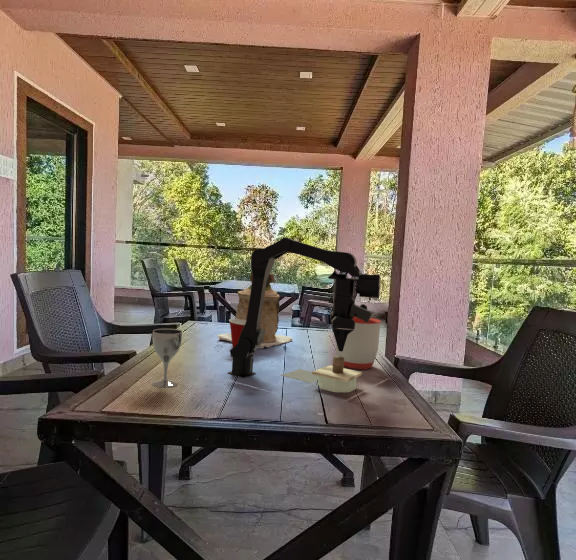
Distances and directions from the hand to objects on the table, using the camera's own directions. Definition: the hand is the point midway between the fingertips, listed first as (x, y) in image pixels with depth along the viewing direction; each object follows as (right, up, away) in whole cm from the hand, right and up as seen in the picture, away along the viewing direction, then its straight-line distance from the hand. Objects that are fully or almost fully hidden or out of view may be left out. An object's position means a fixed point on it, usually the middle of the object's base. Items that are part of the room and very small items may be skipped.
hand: (340, 347), depth 136 cm
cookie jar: (-29, -6, +62) cm, 69 cm away
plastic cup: (-33, -7, +39) cm, 52 cm away
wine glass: (-50, -9, -6) cm, 51 cm away
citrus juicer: (+9, -11, +30) cm, 33 cm away
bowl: (-1, -12, +1) cm, 12 cm away
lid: (-1, -8, +1) cm, 8 cm away
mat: (-10, -11, +10) cm, 18 cm away
